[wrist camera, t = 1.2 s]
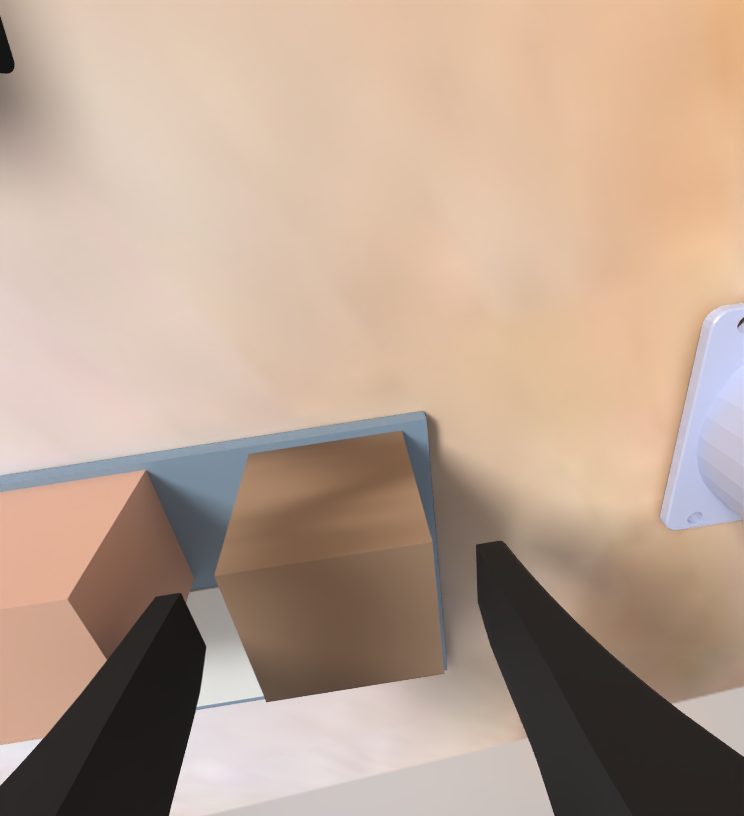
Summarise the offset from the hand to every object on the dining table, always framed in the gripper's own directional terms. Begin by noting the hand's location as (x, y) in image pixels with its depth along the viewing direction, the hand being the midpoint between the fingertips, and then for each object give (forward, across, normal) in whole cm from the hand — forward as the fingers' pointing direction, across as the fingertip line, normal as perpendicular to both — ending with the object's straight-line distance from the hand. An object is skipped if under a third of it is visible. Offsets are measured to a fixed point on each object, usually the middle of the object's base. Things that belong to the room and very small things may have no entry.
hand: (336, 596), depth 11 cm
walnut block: (+4, 0, 0) cm, 4 cm away
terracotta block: (+4, +7, 0) cm, 8 cm away
